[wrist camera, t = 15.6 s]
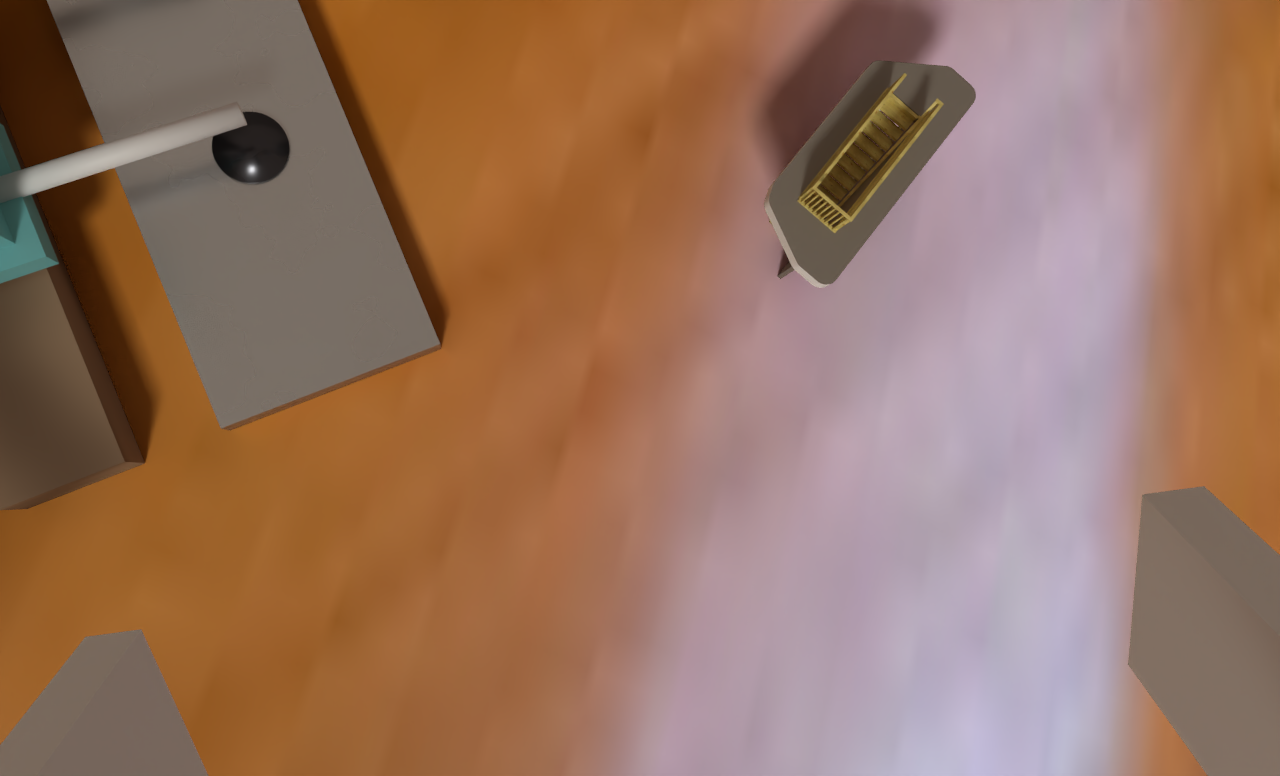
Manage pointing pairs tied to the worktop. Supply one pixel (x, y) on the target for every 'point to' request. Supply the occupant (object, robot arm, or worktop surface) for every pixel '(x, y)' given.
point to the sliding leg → (5, 210)
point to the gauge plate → (250, 198)
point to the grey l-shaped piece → (54, 390)
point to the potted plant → (862, 163)
